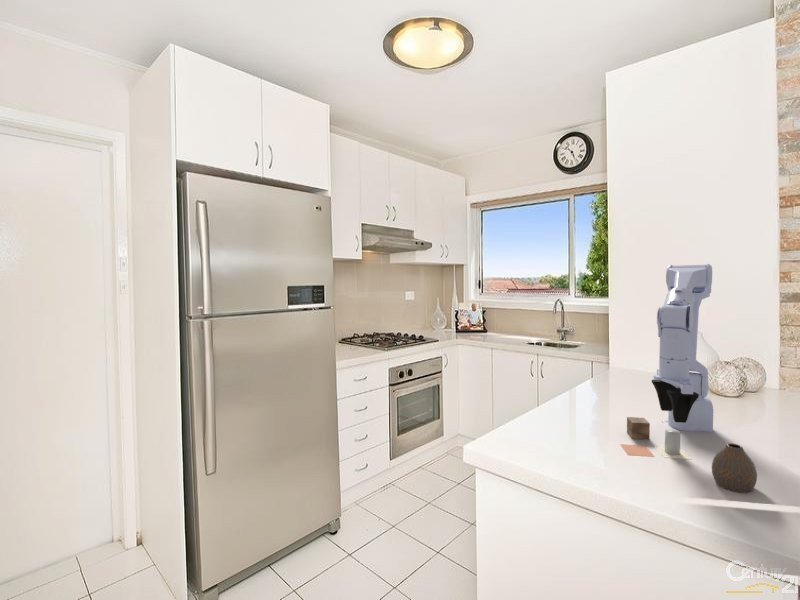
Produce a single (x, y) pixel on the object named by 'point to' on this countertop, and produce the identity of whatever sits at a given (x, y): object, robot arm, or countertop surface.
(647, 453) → the mat
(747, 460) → the vase
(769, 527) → the countertop surface
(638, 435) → the walnut block
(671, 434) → the grey peg
